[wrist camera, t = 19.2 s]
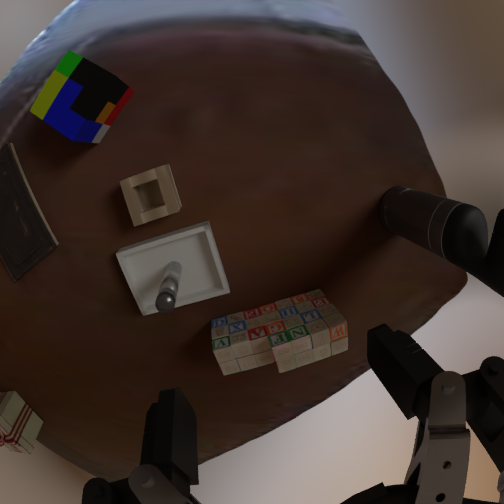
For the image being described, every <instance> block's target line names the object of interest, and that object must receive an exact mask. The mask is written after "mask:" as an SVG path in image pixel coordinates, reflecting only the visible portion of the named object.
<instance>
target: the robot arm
mask: <svg viewBox="0 0 504 504" xmlns="http://www.w3.org/2000/svg"><path fill="white" fill-rule="evenodd" d="M380 219H381V222H382V224H383V225H384V227H385V228H386V229H387V230H389V231H391V232H393V233H395V234H397V235H399V236H401V237H403V238H405V239H407V240H409V241H411V242H413V243H415V244H417V245H419V246H421V247H423V248H425V249H427V250H429V251H430V252H432V253H434V254H436V255H438V256H440V257H442V258H444V259H445V260H447V261H449V262H451V263H453V264H455V265H456V266H458V267H460V268H461V269H463V270H465V271H466V272H468V273H470V274H471V275H473V276H474V277H476V278H477V279H479V280H480V281H482V282H483V283H484V284H486V285H487V286H488V287H490V288H491V289H493V290H494V291H495V292H497V293H498V294H500V295H501V296H502V297H504V209H502V210H501V211H500V212H499V213H498V216H497V219H496V222H495V225H494V230H493V233H492V237H491V241H490V244H489V246H488V230H487V222H486V219H485V216H484V214H483V213H482V211H481V210H480V209H479V208H477V207H475V206H473V205H469V204H466V203H462V202H459V201H455V200H452V199H448V198H445V197H441V196H438V195H434V194H430V193H426V192H422V191H419V190H415V189H411V188H407V187H402V186H396V187H393V188H391V189H389V190H388V191H387V192H386V194H385V195H384V196H383V198H382V201H381V204H380ZM367 358H368V362H369V365H370V367H371V368H372V370H373V371H374V373H375V374H376V375H377V377H378V378H379V380H380V381H381V382H382V384H383V385H384V387H385V388H386V390H387V391H388V392H389V394H390V395H391V397H392V398H393V399H394V401H395V402H396V404H397V405H398V407H399V408H400V410H401V411H402V412H403V414H404V415H405V417H406V418H407V420H409V419H410V418H412V417H414V416H417V418H418V419H419V422H418V427H417V434H416V439H415V444H414V449H413V454H412V459H411V463H410V465H409V468H408V471H407V474H406V477H405V481H404V484H400V485H390V486H384V484H383V482H382V483H380V484H378V485H375V486H373V487H371V488H369V489H367V490H365V491H362V492H360V493H357V494H355V495H353V496H351V497H350V498H348V499H347V500H345V501H344V502H342V503H340V504H504V360H503V359H502V358H500V357H497V356H492V357H488V358H486V359H485V360H484V361H483V362H482V364H481V366H480V369H479V370H475V371H473V372H469V373H467V374H463V375H460V374H458V373H456V372H453V371H444V370H443V369H442V368H441V367H440V366H439V365H438V364H437V363H436V362H435V361H434V360H433V359H432V358H431V357H430V356H429V355H428V353H426V351H425V350H424V349H422V348H421V347H420V345H419V344H418V343H416V341H415V340H414V339H413V338H412V337H411V336H410V335H409V334H407V333H404V332H402V331H400V330H397V331H395V332H393V331H392V330H391V329H390V328H389V327H388V326H387V325H386V324H382V325H379V326H377V327H375V328H372V329H370V330H368V333H367ZM466 421H467V423H468V424H469V426H470V427H471V429H472V430H473V431H474V433H475V434H476V436H477V437H478V439H479V440H480V442H481V443H482V445H483V446H484V448H485V449H486V451H487V452H488V454H489V455H490V457H491V459H492V460H493V462H494V463H495V465H496V467H497V468H498V470H499V471H500V473H501V474H500V476H499V480H498V486H497V489H498V491H499V492H500V499H499V502H498V503H495V502H488V501H481V500H474V499H468V498H463V496H464V490H465V484H466V478H467V470H468V462H469V452H470V430H469V429H466V423H465V422H466ZM145 424H146V425H145V429H144V432H145V433H144V436H143V444H142V452H141V461H140V465H139V466H138V467H136V468H135V469H133V470H132V472H131V473H130V475H129V477H128V478H125V479H122V480H118V481H115V482H111V483H109V482H108V481H106V480H105V479H103V478H93V479H90V480H89V481H88V482H87V483H86V484H85V486H84V489H83V495H82V504H201V503H200V502H199V501H198V500H197V499H196V498H195V497H194V496H193V495H192V494H190V485H198V484H199V480H198V458H197V425H196V416H195V412H194V410H193V408H192V406H191V405H190V403H189V402H188V400H187V399H186V397H185V396H184V394H183V392H182V391H181V389H180V388H179V387H174V388H169V389H163V390H160V393H159V400H158V403H152V405H151V407H150V408H149V410H148V412H147V415H146V422H145Z"/></svg>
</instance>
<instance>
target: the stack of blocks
mask: <svg viewBox="0 0 504 504" xmlns="http://www.w3.org/2000/svg"><path fill="white" fill-rule="evenodd" d="M211 334H212V346H213V352H214V354H215V357H216V359H217V361H218V363H219V365H220V368H221V370H222V372H223V374H224V375H229V374H232V373H236V372H240V371H245V370H249V369H252V368H256V367H260V366H263V365H267V364H270V363H273V362H275V363H276V365H277V368H278V371H279V373H282V372H286V371H289V370H292V369H295V368H297V367H300V366H303V365H306V364H309V363H312V362H314V361H318V360H321V359H324V358H326V357H329V356H331V355H335V354H338V353H341V352H343V351H346V350H348V337H347V321H346V320H345V319H344V318H343V316H342V315H341V314H340V313H339V311H338V310H337V309H336V308H335V306H334V305H333V304H332V303H331V302H330V301H329V300H328V298H327V297H326V296H325V295H324V293H323V292H322V291H321V290H320V289H317V290H314V291H311V292H307V293H303V294H300V295H296V296H293V297H290V298H286V299H283V300H279V301H276V302H274V303H271V304H268V305H264V306H260V307H258V308H254V309H250V310H247V311H244V312H238V313H234V314H231V315H227V316H223V317H219V318H216V319H212V320H211Z"/></svg>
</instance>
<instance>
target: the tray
mask: <svg viewBox="0 0 504 504" xmlns="http://www.w3.org/2000/svg"><path fill="white" fill-rule="evenodd" d="M116 256H117V259H118V261H119V264H120V266H121V268H122V271H123V273H124V276H125V278H126V280H127V282H128V285H129V287H130V289H131V291H132V294H133V296H134V298H135V300H136V302H137V304H138V306H139V309H140V311H141V313H142V315H143V316H144V315H148V314H152V313H156V312H159V311H158V310H157V309H156V307H155V301H156V298H157V295H158V292H159V289H160V286H161V283H162V280H163V277H164V274H165V271H166V268H167V265H168V264H169V263H170V262H172V261H176V262H178V263H180V264H181V266H182V273H181V277H180V282H179V287H178V292H177V297H176V302H175V307H179V306H183V305H186V304H190V303H194V302H198V301H201V300H205V299H208V298H212V297H216V296H219V295H223V294H226V293H230V289H229V284H228V281H227V278H226V275H225V272H224V269H223V266H222V262H221V259H220V256H219V253H218V250H217V246H216V243H215V240H214V237H213V233H212V230H211V227H210V223H209V221H206V222H202V223H199V224H196V225H192V226H189V227H186V228H183V229H179V230H176V231H173V232H170V233H166V234H163V235H160V236H157V237H154V238H151V239H148V240H145V241H141V242H138V243H135V244H132V245H129V246H126V247H123V248H120V249H119V250H118V251H117V253H116ZM175 307H174V308H175Z"/></svg>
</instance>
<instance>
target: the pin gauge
mask: <svg viewBox="0 0 504 504" xmlns="http://www.w3.org/2000/svg"><path fill="white" fill-rule="evenodd" d="M181 273H182V266H181V264H180V263H178V262H176V261H172V262H170V263H169V264H168V265H167V268H166V271H165V274H164V277H163V280H162V283H161V286H160V289H159V292H158V295H157V298H156V301H155V307H156V309H157V310H158V311H159V312H161V313H163V314H168V313H171V312H172V311H173V310H174V307H175V302H176V297H177V292H178V287H179V282H180V277H181Z"/></svg>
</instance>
